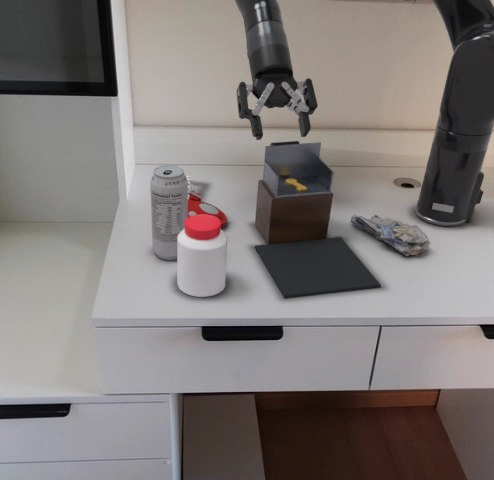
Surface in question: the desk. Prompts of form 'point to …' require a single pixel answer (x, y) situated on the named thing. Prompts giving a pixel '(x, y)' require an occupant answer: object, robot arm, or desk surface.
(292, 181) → the brass key
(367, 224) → the mineral specimen
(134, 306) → the desk surface
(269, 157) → the key caddy
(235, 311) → the desk surface
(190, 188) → the adhesive hook
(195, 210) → the tracker holder
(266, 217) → the stand
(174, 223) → the energy drink can
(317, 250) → the mat
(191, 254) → the pill bottle
